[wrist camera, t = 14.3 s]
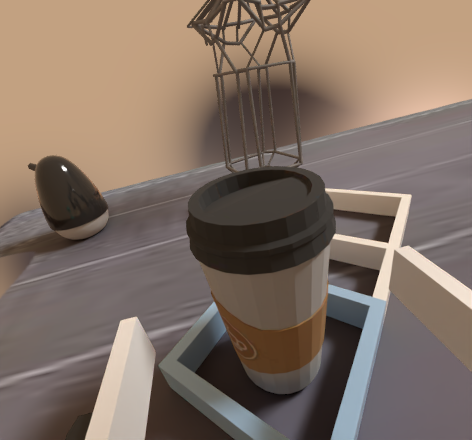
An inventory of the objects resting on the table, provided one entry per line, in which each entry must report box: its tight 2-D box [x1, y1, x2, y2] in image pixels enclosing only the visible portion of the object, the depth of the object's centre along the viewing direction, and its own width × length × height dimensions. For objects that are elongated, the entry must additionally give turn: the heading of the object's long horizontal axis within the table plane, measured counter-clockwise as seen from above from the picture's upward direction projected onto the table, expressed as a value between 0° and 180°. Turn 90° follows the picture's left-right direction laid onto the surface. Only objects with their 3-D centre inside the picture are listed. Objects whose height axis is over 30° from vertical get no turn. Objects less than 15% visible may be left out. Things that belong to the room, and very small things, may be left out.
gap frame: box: [158, 188, 411, 440], centre depth 27 cm, size 13×33×3 cm, turn 145°
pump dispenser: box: [28, 155, 108, 240], centre depth 46 cm, size 10×10×15 cm
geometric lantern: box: [187, 0, 310, 173], centre depth 46 cm, size 16×16×35 cm
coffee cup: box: [186, 166, 336, 394], centre depth 17 cm, size 8×8×15 cm
